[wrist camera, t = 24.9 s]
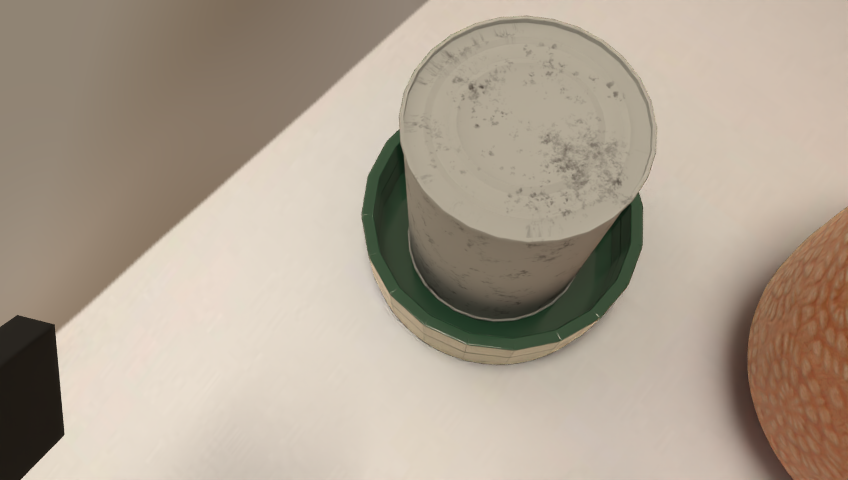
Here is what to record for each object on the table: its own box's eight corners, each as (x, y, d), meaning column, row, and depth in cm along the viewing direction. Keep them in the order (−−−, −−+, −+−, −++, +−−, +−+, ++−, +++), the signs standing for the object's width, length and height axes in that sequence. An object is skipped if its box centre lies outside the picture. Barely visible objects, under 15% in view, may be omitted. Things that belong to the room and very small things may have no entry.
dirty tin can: (424, 337, 34) (423, 263, 22) (395, 172, 37) (380, 34, 26) (603, 305, 34) (692, 217, 23) (558, 146, 38) (616, -1, 26)
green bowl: (352, 348, 34) (341, 330, 30) (388, 120, 39) (384, 77, 35) (615, 380, 34) (642, 366, 30) (620, 144, 39) (644, 103, 34)
